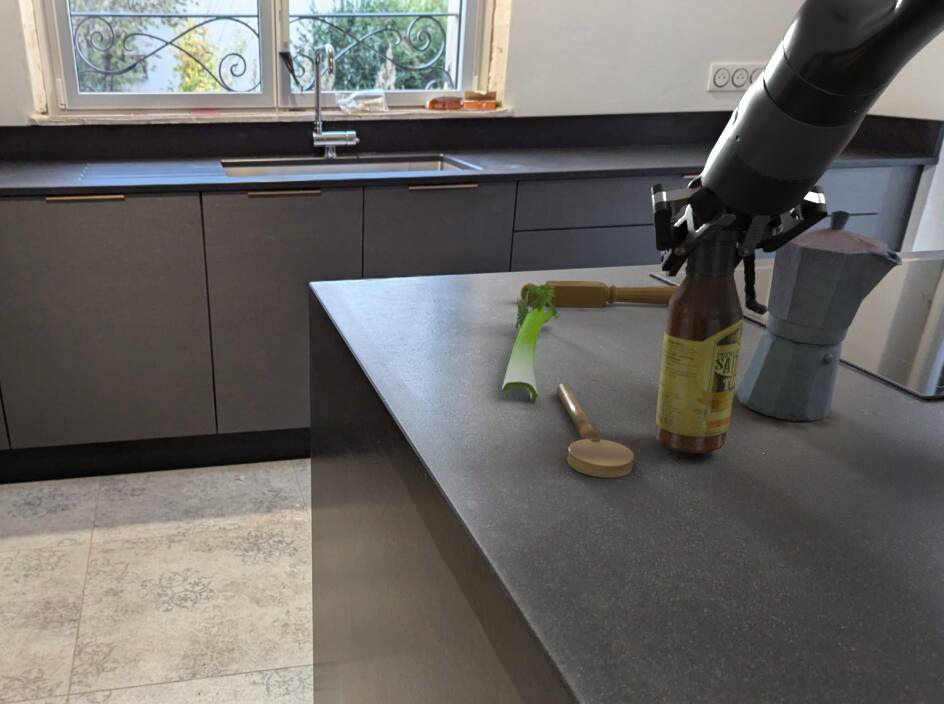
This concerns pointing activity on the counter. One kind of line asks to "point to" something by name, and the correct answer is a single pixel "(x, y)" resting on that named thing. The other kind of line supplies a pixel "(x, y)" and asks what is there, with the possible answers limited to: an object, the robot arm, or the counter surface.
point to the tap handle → (601, 294)
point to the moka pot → (809, 317)
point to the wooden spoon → (593, 444)
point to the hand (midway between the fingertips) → (693, 267)
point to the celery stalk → (528, 339)
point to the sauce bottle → (701, 350)
